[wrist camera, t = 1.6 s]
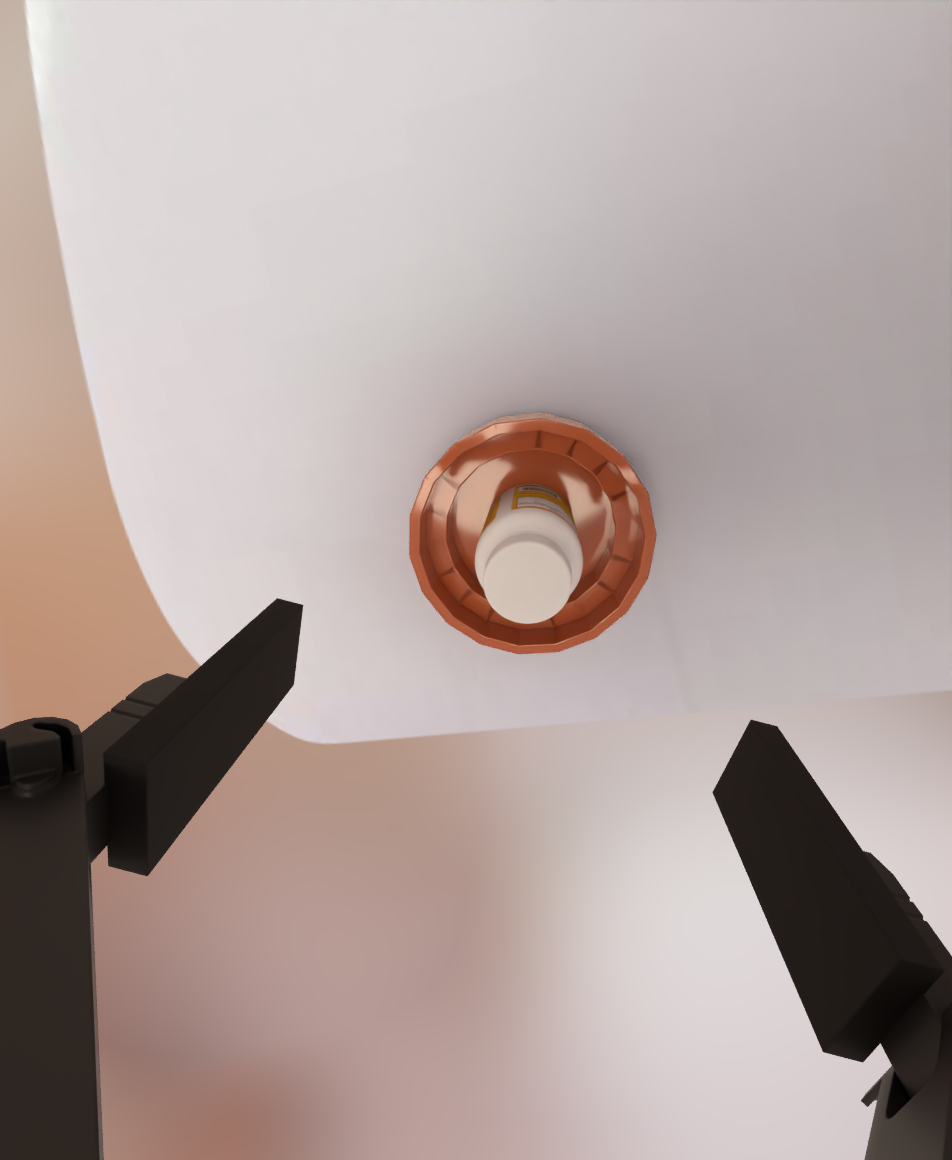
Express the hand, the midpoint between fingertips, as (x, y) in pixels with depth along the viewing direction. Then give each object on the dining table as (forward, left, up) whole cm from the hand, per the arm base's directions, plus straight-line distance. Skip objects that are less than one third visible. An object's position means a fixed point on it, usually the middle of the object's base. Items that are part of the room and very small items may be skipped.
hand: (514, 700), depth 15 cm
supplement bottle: (0, 0, -19) cm, 19 cm away
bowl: (0, 0, -19) cm, 19 cm away
